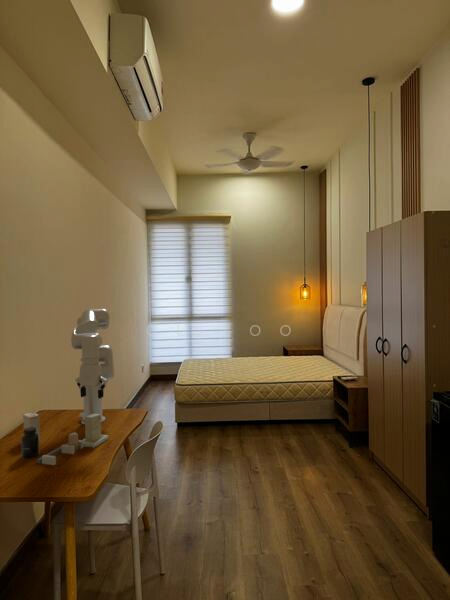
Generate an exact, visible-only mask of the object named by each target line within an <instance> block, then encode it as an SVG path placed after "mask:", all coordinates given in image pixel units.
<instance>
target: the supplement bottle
mask: <svg viewBox="0 0 450 600" xmlns="http://www.w3.org/2000/svg"><path fill="white" fill-rule="evenodd" d="M20 442H21V443H20V444H21V457H22V459H24V460H25V459H26V460H29V459H34V458H37V457H38V456H39V454H40V442H39V435H38V434H37V433H36V428H35V427H29V428H26V429H24V428H23V436H21V441H20Z"/></svg>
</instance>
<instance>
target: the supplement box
mask: <svg viewBox="0 0 450 600" xmlns="http://www.w3.org/2000/svg"><path fill="white" fill-rule="evenodd" d="M22 417H23V421H22V422H23V430H24V429H26V428H29V427H35V428H36V433H37V434H38V435H39V443H40V442H41V430H40V428H41V427H40V414H38V413H35V412H33V411H32V412H28V413H27V412H26V413H24V414H23V415H22Z"/></svg>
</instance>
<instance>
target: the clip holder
mask: <svg viewBox="0 0 450 600" xmlns="http://www.w3.org/2000/svg"><path fill="white" fill-rule="evenodd" d="M82 440H83V439H78V444H79V450H82V449H84V447H83V441H82ZM60 453H62V454H69V455H74V454H75V452H74V446H72V445H69V441H68V442H66V443H64V444H62V445H61V446H59V447H57V448H56V449H55V448H54V449H53V450H52V451H50V452H48V453H46V454H43V455H42V456H41V457H39V458H37V459H36V463H37V464H42V465H50V466H55V465H57V460H56V459H57V456H56V455H57V454H60Z"/></svg>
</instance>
